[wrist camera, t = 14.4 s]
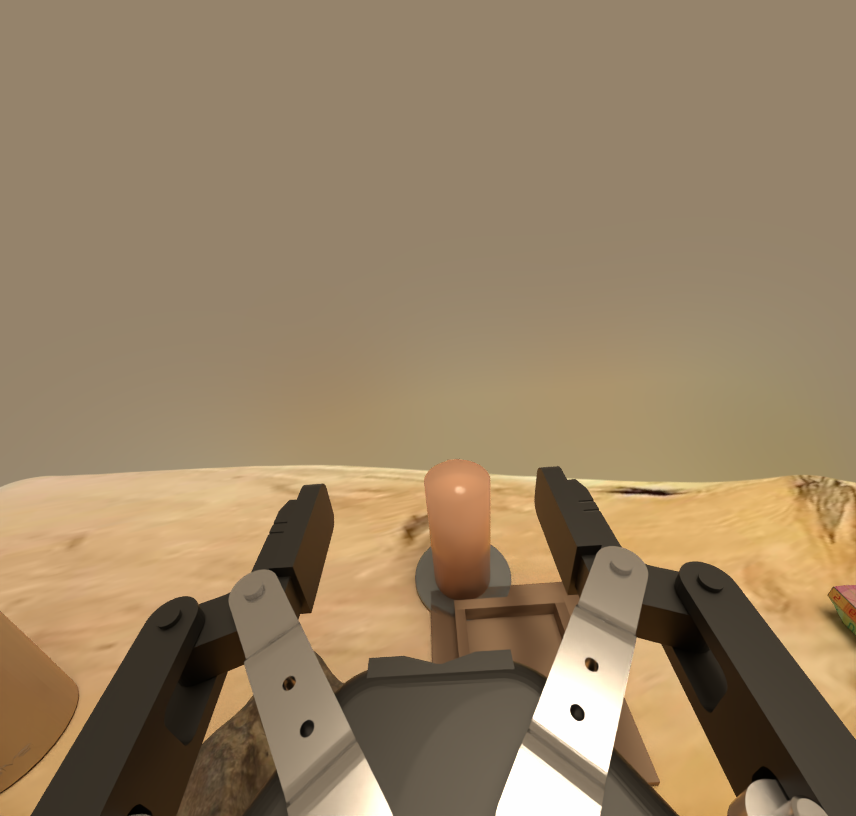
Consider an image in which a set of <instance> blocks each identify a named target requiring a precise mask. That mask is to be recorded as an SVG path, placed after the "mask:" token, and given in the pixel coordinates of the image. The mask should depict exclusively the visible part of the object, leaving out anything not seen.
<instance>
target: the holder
mask: <svg viewBox="0 0 856 816" xmlns="http://www.w3.org/2000/svg"><path fill="white" fill-rule="evenodd" d="M510 586H511V587H510V591H509V594H508V595H507V597H497V596H496V597H497V598H496V597H494V596H492V597H494V598H492V597H491V595H488V593H487V595H488V596H490V597H487V598H486V596H485V595H484V596H485V597H484V596H483V595H482V596H483V597H484V598H483V599H478V598H475V599H468V600H453V599H451V598H449V597H448V598H449V599H450V600H451V601H452V600H453V601H454V602H453V601H452V602H450V601H448V599H446V600H447V602H450V604H451V603H454V606H455V613H454V615H455V617H454V616H453V613H452V612H451V613H452V614H450V613H447V611H446V613H445V612H444V611H443V610H440V609H443V608H441V607H440V608H439V607H436V605H435V607H436V608H435V607H432V606H433V605H431V609H434V610H431V624H432V662H433V663H436V664H442V663H446V662H448V661H451V660H454V659H457V658H459V657H462V656H465V655H467V654H470V653H473V652H476V651H491V650H507V649H511V654H512V659H513V661H515V662H519V663H522V664H525V665H527V666H529V667H531V668H533V669H535V670H537V671H539V672H540V673H542V674H543V675H544V676H546V677H547V678H548V676H549V674H550V671H551V668H552V666H553V663H554V661H555V658H556V655H557V653H558V650H559V647H560V645H561V642H562V639H563V637H564V634H565V631H566V629H567V626H568V623H569V621H570V618H571V615H572V613H573V610H574V608H575V606H576V605H577V604H578V602H579V600H580V598H579V595H567V593H566V590H565V588H564V585H563V582H554V583H539V584H525V585H510ZM498 587H499V586H498ZM502 587H503V586H502ZM502 587H501V588H502ZM507 587H509V586H507ZM488 588H489V587H488ZM501 588H500V591H502V589H501ZM490 589H492V591H491V592H493V589H494V587H492V588H491V587H490ZM496 590H499V589H498V588H496ZM503 590H504V587H503ZM438 591H439V590H438ZM438 591H435V593H436V592H438ZM487 591H488V590H486V592H487ZM505 591H506V590H505ZM439 592H441V591H439ZM486 592H484V593H486ZM488 592H489V594H490V591H488ZM496 592H497V591H496ZM503 592H504V591H503ZM507 592H508V590H507ZM435 593H432V592H431V594H434V595H431V596H432V597H433V596H435ZM500 593H501V592H500ZM504 593H505V592H504ZM439 594H440V593H439ZM491 594H495V593H491ZM440 595H443V594H440ZM440 595H437V597H438V596H439V597H440ZM497 595H499V593H498V594H497ZM500 595H501V594H500ZM482 596H479V597H480V598H481V597H482ZM504 596H505V594H504ZM432 597H431V598H432ZM437 597H436V598H437ZM441 597H442V596H441ZM444 597H447V596H444ZM432 599H434V601H435V600H437V599H435V598H432ZM432 599H431V600H432ZM441 599H442V598H441ZM443 599H444V598H443ZM446 600H445V602H446ZM438 601H444V600H440V599H439V600H438ZM433 603H434V602H433ZM431 604H432V602H431ZM441 604H442V603H441ZM441 604H440V605H441ZM444 604H445V603H444ZM447 604H448V603H447ZM438 605H439V603H438ZM445 605H446V604H445ZM451 605H452V604H451ZM442 606H443V605H442ZM452 606H453V605H452ZM452 606H450V605H449V607H452ZM454 606H453V607H454ZM437 608H438V609H437ZM444 608H445V607H444ZM435 609H437V610H435ZM451 609H453V610H452V611H454V608H451ZM451 609H450V610H451ZM445 610H446V608H445ZM447 610H448V609H447ZM451 615H452V616H451ZM473 619H475V620H473ZM467 620H469V621H467ZM613 746H614V747H615V748H616V749H617V751H618V752H619V753H620V754H621V755H622V756H623V757H624V758H625V759H626V760H627V761H628V762H629V763H630V764H631V765H632V766H633V768H634V769H635V770H636V771H637V772H638V773H639V774H640V775H641V776H642V777H643V778H644V779H645V780H646V781H647V782H648V783H649V784H650V785H651V786H653V785H659V783H660V781H659V778H658V776H657V774H656V771H655V769H654V766H653V764H652V762H651V759H650V757H649V755H648V752H647V750H646V748H645V745H644V743H643V740H642V738H641V736H640V733H639V731H638V729H637V726H636V724H635V722H634V719H633V717H632V714H631V712H630V710H629V707H628V705H627V703H626V700H625V698H624V699H623V703H622V708H621V712H620V717H619V722H618V726H617V731H616V735H615V740H614V744H613Z"/></svg>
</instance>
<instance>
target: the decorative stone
mask: <svg viewBox="0 0 856 816" xmlns="http://www.w3.org/2000/svg"><path fill="white" fill-rule="evenodd" d="M314 653H315V655H316V657H317V659H318V662H319V664H320V666H321V668H322V670H323V672H324V674H325V676H326V678H327V680H328V682H329V684H330V686H331V689H332V691H333V693H335V692H336V691H337V690H338V689H339V688H340V687H341V686H342V685H343V684H344V683H342V682H340V681H339V680H338V679H337V678H336V677H335V676H334V675H333V674H332V673H331V671H330V670H329V668H328V667H327V665H326V664H325V662H324V661H323V660H322V658H321V657H320V656H319V655H318V654H317V653H316V652H315V651H314ZM275 770H276V766H275V763H274V760H273V756H272V753H271V750H270V747H269V743H268V740H267V737H266V734H265V731H264V727H263V724H262V721H261V718H260V714H259V711H258V708H257V705H256V701H255V698H254V695H253V696H252V697H251V699H250V700H249V701H248V702H247V704H246V705H245V706H244V707H243V708H242V709H241V710H240V711H239V712H238V713H237V714H236V715H235V716H233V717H232V718H231V719H230V720H229V721H227V722H226V723H225V724H224V725H222V726H221V727H220V728H219V729H217V730H216V731H215V732H214V733H213V734H212V735H211V736H210V737H209V738H208V739H207V740H206V741H205V742H204V743H203V744H202V745H201V748H200V751H199V754H198V756H197V759H196V762H195V765H194V768H193V771H192V773H191V776H190V779H189V782H188V785H187V787H186V790H185V793H184V796H183V799H182V801H181V804H180V807H179V810H178V813H177V815H176V816H241V815H242V814H243V812H244V811H245V810H246V808H247V807H248V806H249V804H250V803H251V802H252V800H253V799H254V798H255V796H256V795H257V794H258V792H259V791H260V790H261V788H262V787H263V786H264V784H265V783H266V782H267V780H268V779H269V778H270V776H271V775H272V774H273V772H274V771H275Z"/></svg>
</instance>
